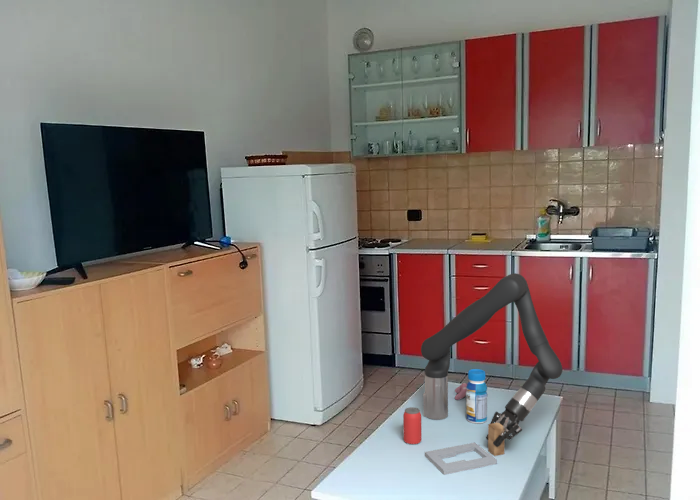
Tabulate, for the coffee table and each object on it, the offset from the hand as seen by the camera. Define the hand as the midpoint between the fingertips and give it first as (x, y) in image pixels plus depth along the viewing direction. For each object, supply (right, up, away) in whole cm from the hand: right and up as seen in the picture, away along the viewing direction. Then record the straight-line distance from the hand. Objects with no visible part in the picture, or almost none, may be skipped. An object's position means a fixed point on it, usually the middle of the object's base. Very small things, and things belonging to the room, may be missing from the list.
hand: (491, 442), depth 202 cm
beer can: (-26, -4, +12) cm, 29 cm away
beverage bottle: (+1, -1, +29) cm, 29 cm away
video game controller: (0, +2, +55) cm, 55 cm away
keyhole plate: (-12, -5, -4) cm, 13 cm away
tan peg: (+2, -4, +1) cm, 5 cm away
